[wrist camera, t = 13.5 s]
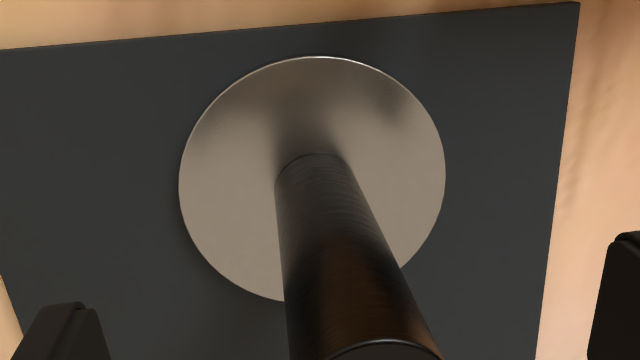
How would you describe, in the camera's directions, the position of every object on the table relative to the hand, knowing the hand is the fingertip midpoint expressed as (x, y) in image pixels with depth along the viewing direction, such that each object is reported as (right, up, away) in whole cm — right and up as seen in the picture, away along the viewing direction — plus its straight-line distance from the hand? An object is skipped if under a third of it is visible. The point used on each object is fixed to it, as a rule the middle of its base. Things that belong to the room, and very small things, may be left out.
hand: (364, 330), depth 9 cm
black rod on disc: (-1, +3, +8) cm, 9 cm away
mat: (-2, -2, +10) cm, 11 cm away
